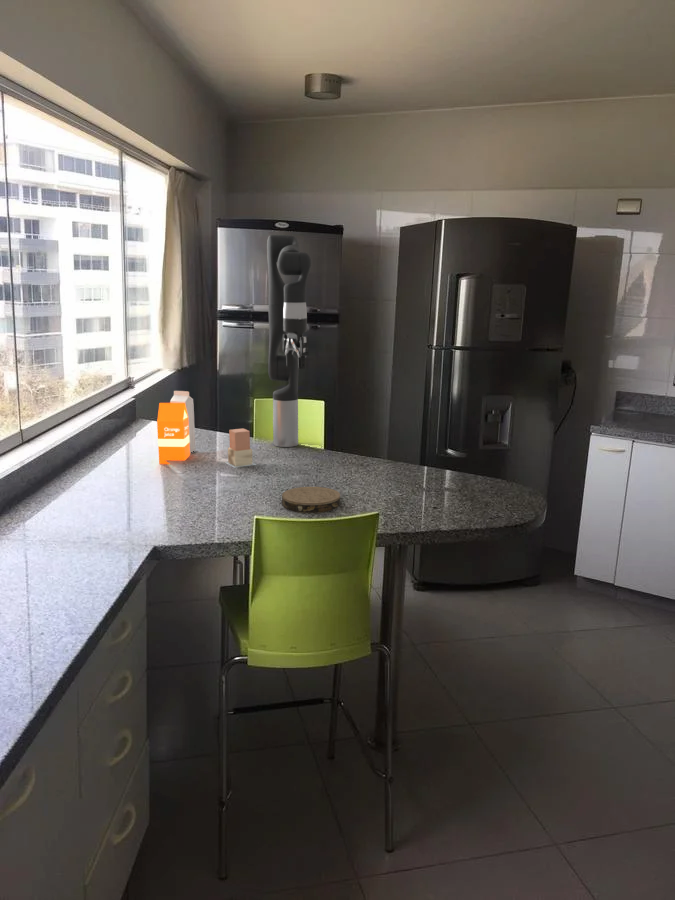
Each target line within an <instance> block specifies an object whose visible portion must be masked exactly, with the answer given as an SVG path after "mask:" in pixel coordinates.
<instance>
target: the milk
mask: <svg viewBox="0 0 675 900" xmlns="http://www.w3.org/2000/svg"><path fill="white" fill-rule="evenodd" d="M169 403H185V405H186V410H187V414H188V421H189V440H190V442H189V444H190V454H192V453H194V452H196V434H195V433H196V432H195V411H194V410H195V409H194V398H192V397H191V396H190V391H187V390H186V391H185V390H173V396H172V397H171V399H170V401H169ZM193 451H194V452H193ZM191 452H192V453H191Z"/></svg>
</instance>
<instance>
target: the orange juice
mask: <svg viewBox="0 0 675 900" xmlns="http://www.w3.org/2000/svg"><path fill="white" fill-rule="evenodd" d="M156 425H157V426H156V427H157V428H156V429H157V446H158V448H157V449H158V462H159V463H158V464H159V465H171V463H170V462H168V461H186V460H187V459H188V458H189V457H190V456H191V453H190V444H189V442H190V440H189V421H188V414H187V410H186V405H185V403H170V402H159V404H158V412H157V420H156Z"/></svg>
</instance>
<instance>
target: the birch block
mask: <svg viewBox="0 0 675 900" xmlns="http://www.w3.org/2000/svg"><path fill="white" fill-rule="evenodd" d="M227 460H228V461H227V462H228V463H230V464H232V465H233V466H235V467H236V466H243V465H251V464H253V463H254V462H253V449H252V448H250V449H248V450H239V451H235V450H233V449H231V448H230V447H227ZM252 462H253V463H252ZM251 466H252V465H251ZM243 467H244V466H243ZM236 468H237V467H236Z"/></svg>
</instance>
